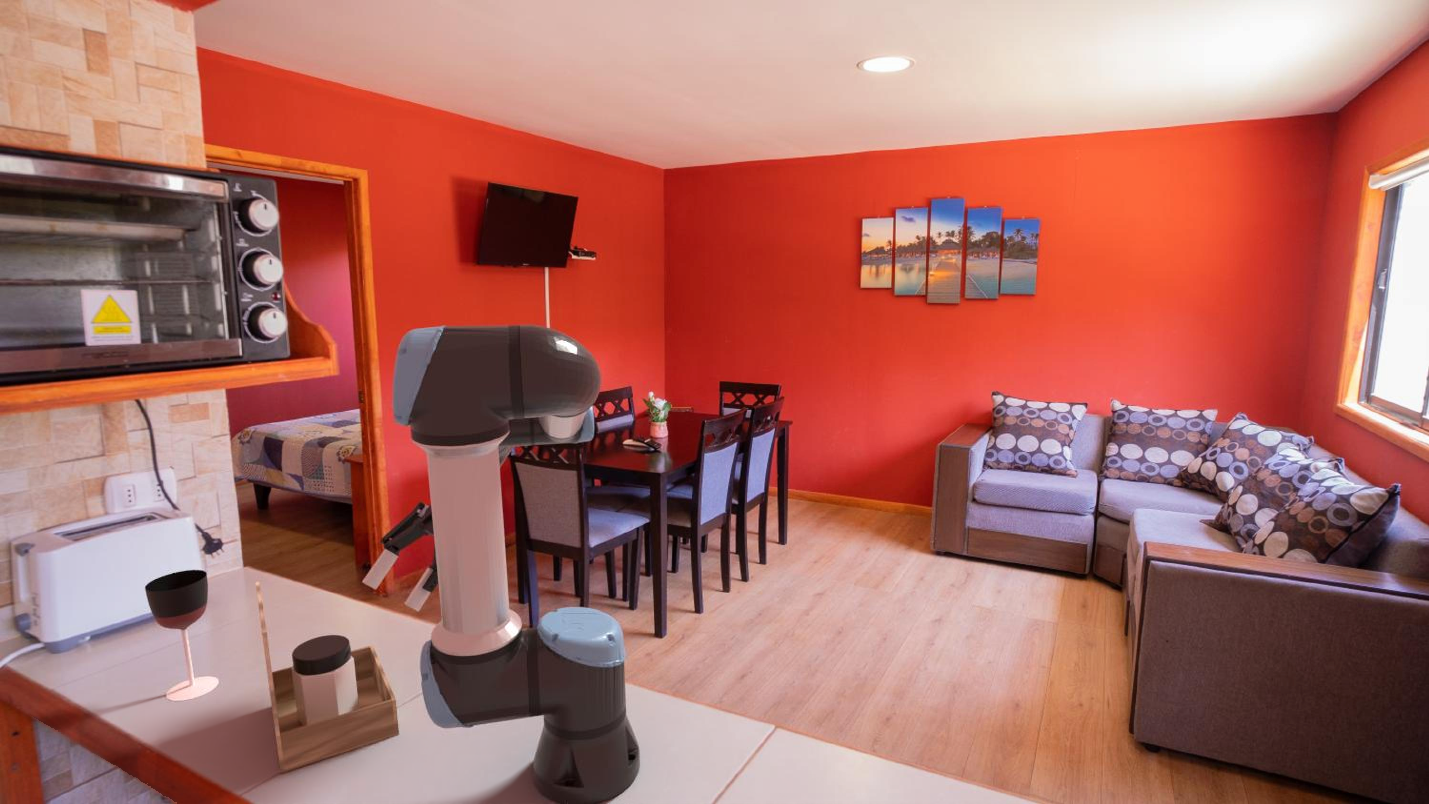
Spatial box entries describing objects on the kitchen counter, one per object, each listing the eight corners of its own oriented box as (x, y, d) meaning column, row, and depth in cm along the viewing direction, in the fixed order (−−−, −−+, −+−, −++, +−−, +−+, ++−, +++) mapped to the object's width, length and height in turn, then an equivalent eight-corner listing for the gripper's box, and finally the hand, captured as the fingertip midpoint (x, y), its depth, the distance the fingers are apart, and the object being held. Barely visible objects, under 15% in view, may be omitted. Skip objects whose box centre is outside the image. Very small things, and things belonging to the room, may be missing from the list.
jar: (366, 714, 119) (359, 646, 117) (312, 738, 113) (303, 667, 111) (344, 693, 125) (337, 628, 123) (291, 715, 119) (283, 646, 117)
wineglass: (233, 678, 130) (218, 572, 127) (185, 706, 122) (167, 594, 118) (199, 671, 133) (184, 567, 129) (150, 698, 125) (132, 587, 121)
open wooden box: (399, 734, 115) (386, 602, 110) (280, 773, 106) (262, 632, 102) (375, 676, 131) (364, 559, 127) (271, 706, 122) (255, 582, 118)
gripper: (517, 512, 127) (447, 626, 119) (436, 486, 142) (368, 586, 134) (489, 491, 122) (413, 608, 113) (408, 466, 137) (336, 568, 128)
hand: (389, 596), depth 123 cm, fingers open, 13 cm apart
